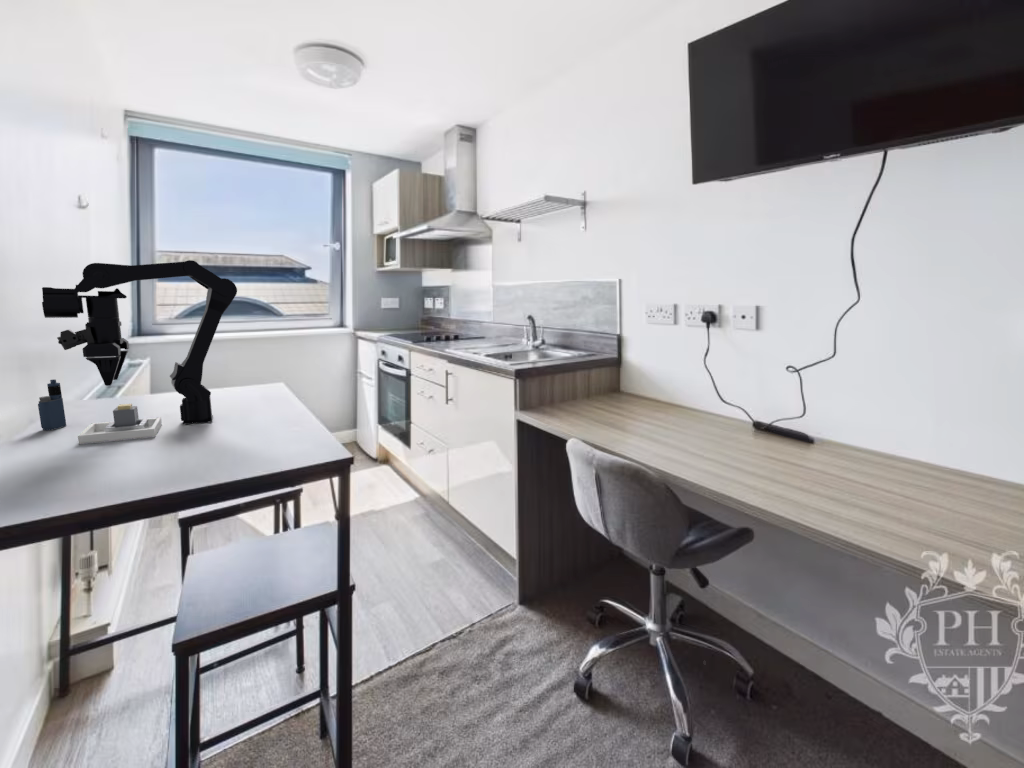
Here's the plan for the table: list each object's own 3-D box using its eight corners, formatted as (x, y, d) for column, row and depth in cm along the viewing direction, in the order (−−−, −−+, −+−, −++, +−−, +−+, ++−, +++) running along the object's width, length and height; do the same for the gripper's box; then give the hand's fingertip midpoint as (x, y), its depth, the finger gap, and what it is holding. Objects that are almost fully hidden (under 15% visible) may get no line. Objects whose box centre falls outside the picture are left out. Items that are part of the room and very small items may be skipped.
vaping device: (69, 425, 126) (62, 379, 124) (48, 430, 120) (41, 382, 118) (60, 425, 126) (53, 378, 124) (39, 430, 121) (31, 382, 119)
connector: (139, 429, 122) (136, 402, 121) (136, 433, 118) (133, 405, 117) (119, 431, 120) (116, 404, 119) (116, 435, 116) (112, 407, 115)
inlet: (149, 427, 124) (148, 418, 124) (144, 434, 118) (143, 425, 117) (112, 430, 121) (111, 421, 120) (105, 438, 114) (104, 428, 114)
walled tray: (161, 425, 127) (161, 417, 127) (155, 436, 117) (154, 428, 117) (92, 431, 121) (91, 423, 120) (78, 444, 110) (77, 435, 110)
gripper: (68, 316, 120) (76, 379, 123) (47, 319, 104) (57, 391, 107) (125, 316, 126) (132, 376, 129) (114, 319, 110) (122, 387, 113)
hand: (111, 382), depth 119 cm, fingers open, 9 cm apart
